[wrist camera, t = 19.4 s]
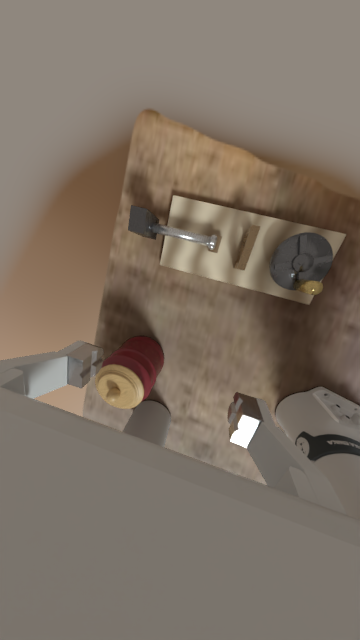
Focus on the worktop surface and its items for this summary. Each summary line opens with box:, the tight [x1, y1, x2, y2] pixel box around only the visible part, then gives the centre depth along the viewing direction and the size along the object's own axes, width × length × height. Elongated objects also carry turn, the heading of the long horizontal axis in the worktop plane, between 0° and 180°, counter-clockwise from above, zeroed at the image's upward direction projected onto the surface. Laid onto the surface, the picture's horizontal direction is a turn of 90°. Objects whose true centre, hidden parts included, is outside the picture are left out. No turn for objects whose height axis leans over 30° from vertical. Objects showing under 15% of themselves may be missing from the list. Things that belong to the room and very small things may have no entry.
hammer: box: [128, 205, 217, 250], centre depth 33 cm, size 17×4×7 cm, turn 76°
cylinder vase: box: [123, 400, 171, 447], centre depth 44 cm, size 12×12×25 cm
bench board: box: [160, 195, 346, 305], centre depth 35 cm, size 34×14×4 cm, turn 76°
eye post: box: [234, 225, 260, 271], centre depth 32 cm, size 1×7×6 cm, turn 166°
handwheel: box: [269, 232, 333, 295], centre depth 29 cm, size 10×10×6 cm
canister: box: [95, 336, 164, 409], centre depth 41 cm, size 13×13×18 cm
